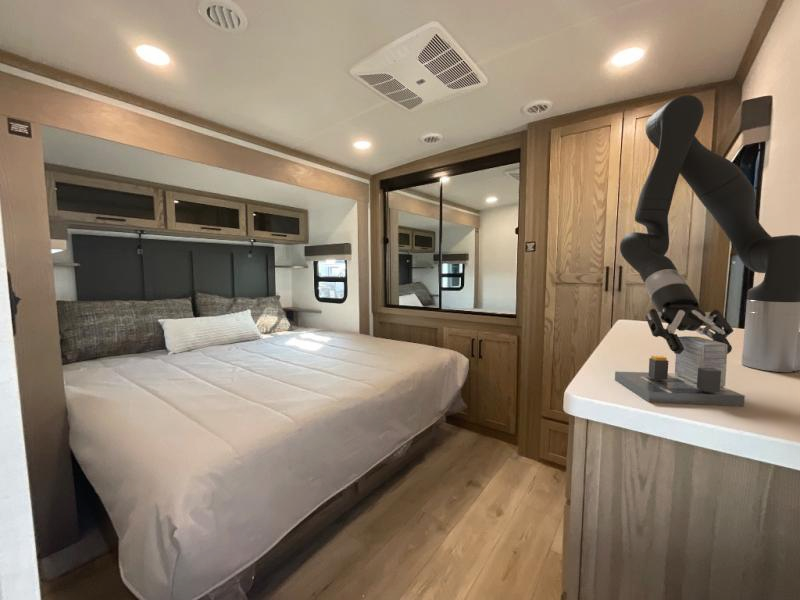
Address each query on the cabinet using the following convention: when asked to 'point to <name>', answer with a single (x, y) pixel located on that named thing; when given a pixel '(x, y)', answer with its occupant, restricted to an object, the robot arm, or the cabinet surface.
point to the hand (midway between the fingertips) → (703, 352)
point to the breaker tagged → (658, 367)
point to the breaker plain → (709, 379)
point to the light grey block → (700, 357)
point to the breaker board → (675, 390)
